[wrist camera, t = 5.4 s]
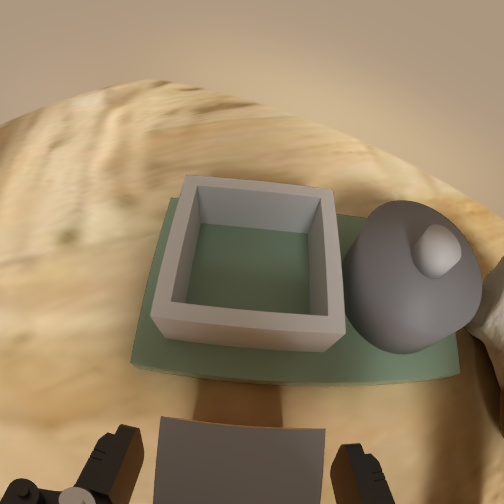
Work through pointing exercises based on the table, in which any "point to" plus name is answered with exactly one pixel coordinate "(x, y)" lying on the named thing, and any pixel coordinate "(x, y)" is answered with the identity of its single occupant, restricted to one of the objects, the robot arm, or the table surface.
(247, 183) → the green tray with dome
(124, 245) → the table surface
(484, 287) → the ceramic sculpture
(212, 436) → the orange gray block
